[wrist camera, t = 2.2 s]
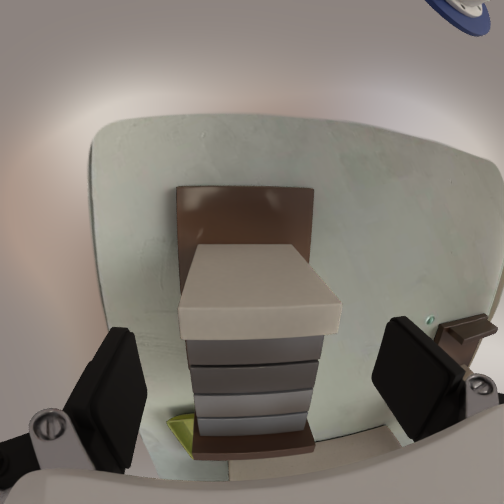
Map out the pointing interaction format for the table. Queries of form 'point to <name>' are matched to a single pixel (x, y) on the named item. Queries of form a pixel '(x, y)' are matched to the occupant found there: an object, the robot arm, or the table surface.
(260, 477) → the box
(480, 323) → the dark brown rack
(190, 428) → the green tray
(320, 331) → the cream book
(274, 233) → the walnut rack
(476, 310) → the table surface
